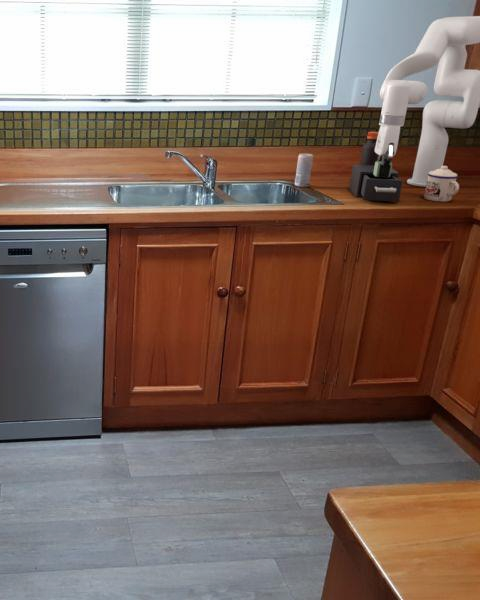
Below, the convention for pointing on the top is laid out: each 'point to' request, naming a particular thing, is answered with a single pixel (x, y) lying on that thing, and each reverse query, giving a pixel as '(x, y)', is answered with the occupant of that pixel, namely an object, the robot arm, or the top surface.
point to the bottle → (369, 150)
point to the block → (377, 167)
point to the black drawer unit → (380, 188)
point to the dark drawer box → (357, 177)
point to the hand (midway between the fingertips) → (381, 174)
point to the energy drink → (303, 170)
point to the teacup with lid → (441, 185)
